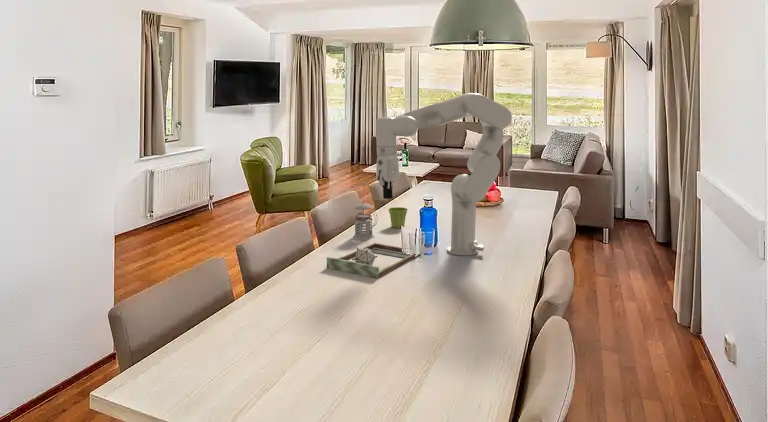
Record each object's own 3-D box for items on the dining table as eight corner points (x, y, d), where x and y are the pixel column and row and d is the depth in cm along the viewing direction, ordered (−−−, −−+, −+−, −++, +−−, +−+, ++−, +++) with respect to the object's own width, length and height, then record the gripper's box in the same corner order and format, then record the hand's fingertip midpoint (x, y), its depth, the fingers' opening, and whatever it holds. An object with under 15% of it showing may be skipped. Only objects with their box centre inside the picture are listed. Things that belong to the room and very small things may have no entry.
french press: (360, 232, 246) (360, 179, 240) (382, 236, 240) (382, 181, 235) (348, 237, 237) (347, 182, 232) (370, 241, 232) (370, 184, 226)
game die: (368, 279, 195) (373, 263, 188) (347, 270, 196) (351, 254, 189) (376, 261, 201) (382, 246, 194) (356, 253, 202) (360, 236, 195)
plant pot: (386, 224, 261) (386, 207, 259) (404, 223, 263) (404, 206, 261) (390, 229, 252) (390, 211, 250) (409, 228, 254) (410, 210, 252)
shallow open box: (421, 254, 213) (421, 244, 212) (377, 278, 185) (377, 267, 185) (374, 246, 224) (374, 237, 223) (326, 267, 197) (326, 257, 196)
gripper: (385, 153, 192) (386, 203, 196) (404, 148, 205) (405, 195, 209) (367, 152, 196) (369, 201, 200) (387, 148, 208) (388, 194, 213)
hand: (387, 198), depth 204 cm, fingers closed
